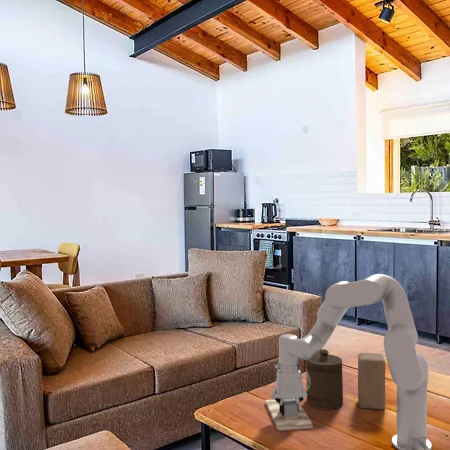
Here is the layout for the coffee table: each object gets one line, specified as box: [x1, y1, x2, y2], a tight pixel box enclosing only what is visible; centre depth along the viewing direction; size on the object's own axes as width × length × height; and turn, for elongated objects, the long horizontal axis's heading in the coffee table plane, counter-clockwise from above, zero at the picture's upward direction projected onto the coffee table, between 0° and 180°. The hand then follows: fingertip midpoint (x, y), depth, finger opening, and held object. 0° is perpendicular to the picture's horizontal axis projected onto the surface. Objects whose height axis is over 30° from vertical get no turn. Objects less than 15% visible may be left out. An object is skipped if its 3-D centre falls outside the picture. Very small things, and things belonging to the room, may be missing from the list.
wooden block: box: [357, 352, 386, 410], centre depth 202 cm, size 10×10×20 cm
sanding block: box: [283, 398, 298, 419], centre depth 191 cm, size 8×4×5 cm, turn 6°
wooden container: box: [305, 348, 344, 410], centre depth 205 cm, size 15×15×22 cm
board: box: [264, 398, 314, 431], centre depth 194 cm, size 24×13×2 cm, turn 6°
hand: (289, 413), depth 192 cm, fingers closed on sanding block, 4 cm apart
